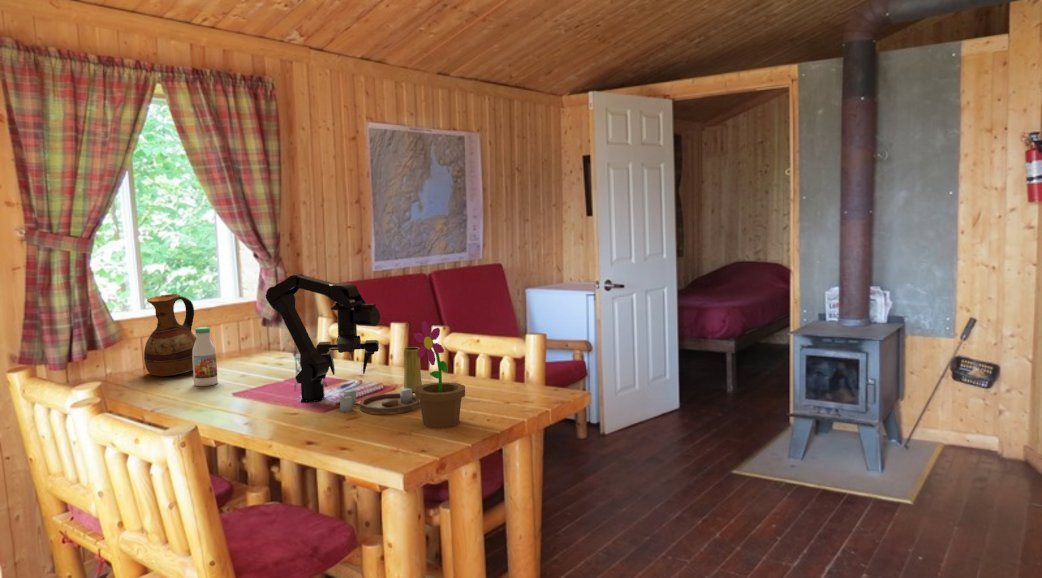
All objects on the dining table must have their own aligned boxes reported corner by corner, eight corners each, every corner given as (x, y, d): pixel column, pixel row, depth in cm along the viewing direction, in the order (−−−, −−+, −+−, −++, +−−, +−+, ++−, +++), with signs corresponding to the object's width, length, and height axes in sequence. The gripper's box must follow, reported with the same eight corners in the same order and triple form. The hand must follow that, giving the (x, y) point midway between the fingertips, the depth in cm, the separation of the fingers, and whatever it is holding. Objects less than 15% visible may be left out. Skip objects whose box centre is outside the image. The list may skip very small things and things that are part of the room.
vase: (418, 393, 253) (417, 350, 252) (401, 392, 255) (399, 349, 253) (424, 388, 259) (423, 346, 258) (407, 387, 260) (406, 346, 259)
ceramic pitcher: (134, 376, 284) (128, 295, 281) (183, 365, 301) (178, 289, 298) (166, 382, 274) (161, 298, 270) (215, 370, 291) (210, 292, 287)
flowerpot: (405, 424, 218) (402, 319, 215) (443, 413, 229) (440, 313, 225) (439, 434, 209) (436, 324, 205) (477, 422, 219) (474, 318, 216)
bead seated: (400, 404, 238) (400, 391, 237) (400, 401, 241) (400, 388, 241) (412, 403, 238) (411, 390, 238) (412, 400, 242) (411, 388, 241)
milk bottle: (189, 385, 268) (185, 329, 265) (205, 380, 275) (202, 325, 273) (206, 387, 265) (202, 330, 263) (222, 382, 272) (219, 326, 270)
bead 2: (339, 412, 232) (339, 399, 231) (341, 409, 235) (340, 396, 235) (352, 411, 232) (351, 398, 232) (353, 408, 236) (352, 395, 235)
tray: (357, 416, 227) (357, 410, 227) (361, 400, 245) (361, 394, 245) (420, 413, 229) (420, 407, 229) (419, 397, 248) (419, 392, 247)
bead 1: (343, 405, 240) (343, 392, 239) (345, 402, 243) (344, 390, 243) (355, 404, 240) (355, 392, 240) (356, 401, 244) (356, 389, 243)
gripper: (312, 330, 229) (315, 381, 231) (376, 328, 232) (378, 378, 234) (317, 324, 240) (319, 373, 242) (378, 322, 243) (379, 370, 245)
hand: (348, 374), depth 240 cm, fingers open, 9 cm apart
